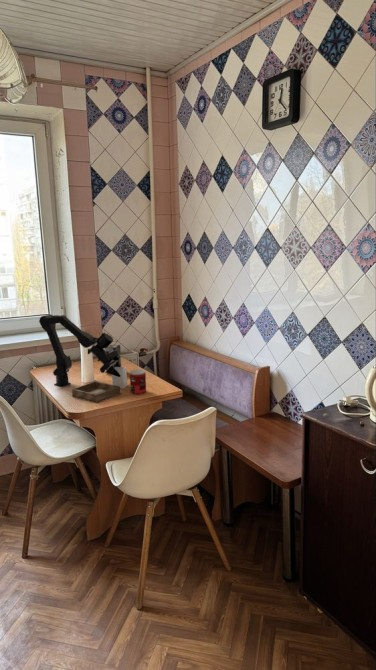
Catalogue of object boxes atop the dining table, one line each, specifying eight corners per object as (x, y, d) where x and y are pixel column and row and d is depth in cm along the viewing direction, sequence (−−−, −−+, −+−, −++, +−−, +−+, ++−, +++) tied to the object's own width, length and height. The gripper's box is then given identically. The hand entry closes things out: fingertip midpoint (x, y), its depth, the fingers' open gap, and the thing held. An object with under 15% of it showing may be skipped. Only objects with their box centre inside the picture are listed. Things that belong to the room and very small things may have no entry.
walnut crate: (72, 396, 239) (71, 389, 239) (95, 388, 252) (95, 381, 251) (97, 403, 229) (96, 395, 228) (120, 394, 242) (120, 386, 241)
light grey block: (112, 388, 252) (111, 369, 250) (116, 384, 257) (115, 366, 255) (123, 388, 250) (122, 370, 248) (127, 385, 256) (126, 367, 254)
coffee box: (116, 375, 276) (115, 348, 273) (106, 374, 277) (104, 347, 274) (122, 370, 285) (120, 344, 281) (111, 370, 286) (110, 344, 283)
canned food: (130, 390, 247) (129, 370, 245) (146, 389, 248) (145, 369, 245) (130, 395, 240) (129, 374, 237) (146, 394, 240) (145, 373, 238)
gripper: (104, 347, 241) (126, 369, 241) (116, 340, 259) (136, 360, 259) (90, 362, 244) (112, 383, 244) (103, 353, 262) (123, 373, 262)
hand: (121, 374), depth 252 cm, fingers closed on light grey block, 6 cm apart
